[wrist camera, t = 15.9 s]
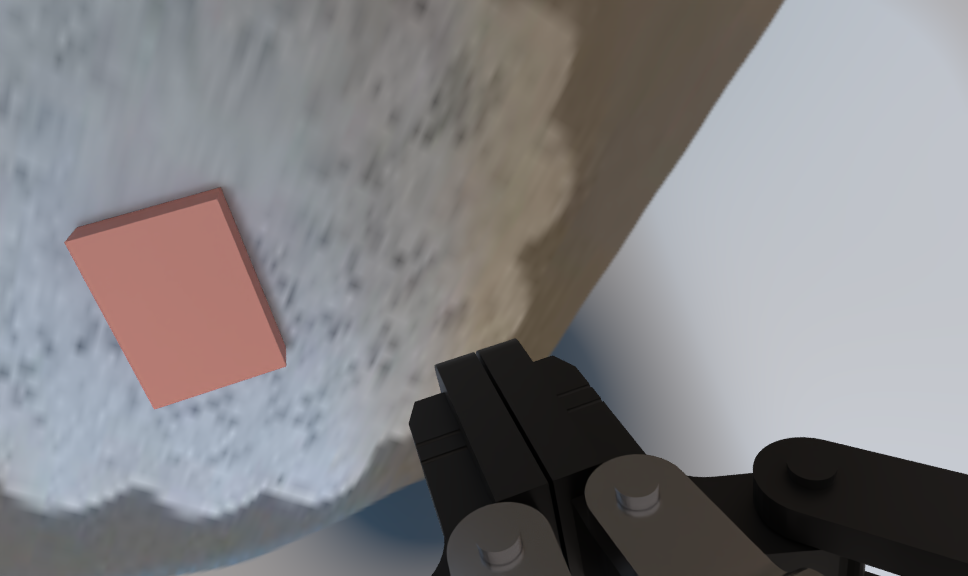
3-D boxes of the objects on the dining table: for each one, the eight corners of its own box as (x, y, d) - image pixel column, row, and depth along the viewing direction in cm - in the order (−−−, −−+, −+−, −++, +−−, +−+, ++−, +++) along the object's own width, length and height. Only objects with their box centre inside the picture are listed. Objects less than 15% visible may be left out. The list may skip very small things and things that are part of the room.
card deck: (221, 185, 32) (78, 225, 31) (217, 199, 30) (64, 242, 29) (285, 344, 36) (161, 384, 35) (286, 366, 34) (154, 409, 33)
